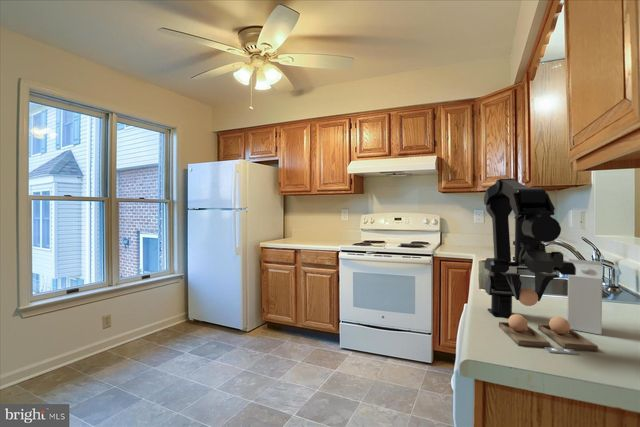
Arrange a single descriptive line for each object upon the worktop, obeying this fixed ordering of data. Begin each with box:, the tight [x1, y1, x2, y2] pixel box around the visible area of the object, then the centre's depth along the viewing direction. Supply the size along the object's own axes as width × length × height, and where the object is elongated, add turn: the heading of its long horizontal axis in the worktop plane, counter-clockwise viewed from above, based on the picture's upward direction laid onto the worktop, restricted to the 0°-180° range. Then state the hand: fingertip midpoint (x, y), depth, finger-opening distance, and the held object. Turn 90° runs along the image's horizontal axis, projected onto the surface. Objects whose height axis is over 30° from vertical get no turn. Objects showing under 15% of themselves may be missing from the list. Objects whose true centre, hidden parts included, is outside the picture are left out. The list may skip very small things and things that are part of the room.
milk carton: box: [566, 258, 603, 335], centre depth 89 cm, size 7×7×19 cm
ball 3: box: [548, 316, 570, 334], centre depth 84 cm, size 4×4×4 cm
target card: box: [543, 346, 580, 356], centre depth 74 cm, size 2×6×1 cm, turn 80°
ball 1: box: [507, 313, 528, 331], centre depth 86 cm, size 4×4×4 cm
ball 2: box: [518, 287, 539, 307], centre depth 80 cm, size 4×4×4 cm
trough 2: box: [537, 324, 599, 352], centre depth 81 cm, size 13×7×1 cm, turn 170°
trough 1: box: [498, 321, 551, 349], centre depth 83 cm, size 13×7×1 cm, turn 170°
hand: (527, 300), depth 80 cm, fingers closed on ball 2, 4 cm apart
